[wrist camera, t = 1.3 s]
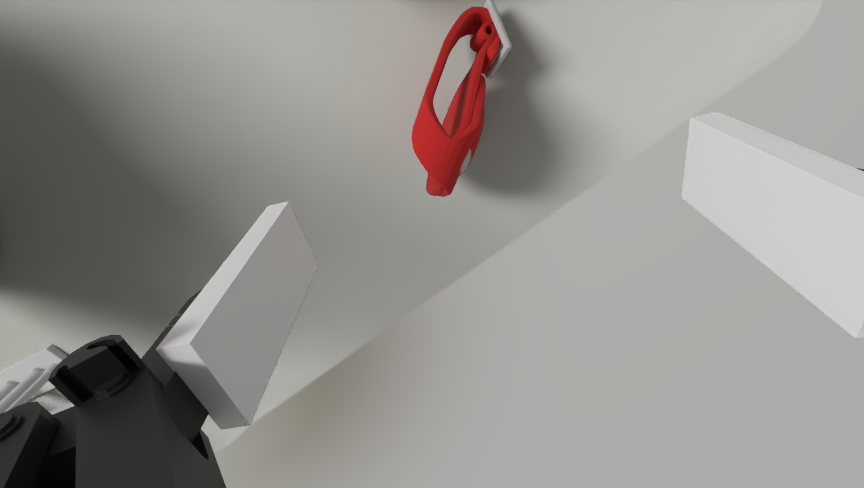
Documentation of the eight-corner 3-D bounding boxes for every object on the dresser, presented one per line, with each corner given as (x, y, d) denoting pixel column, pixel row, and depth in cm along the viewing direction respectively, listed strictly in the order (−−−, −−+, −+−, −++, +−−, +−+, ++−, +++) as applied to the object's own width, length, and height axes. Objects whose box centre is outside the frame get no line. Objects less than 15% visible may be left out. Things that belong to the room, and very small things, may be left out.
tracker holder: (449, 174, 32) (456, 237, 24) (396, 156, 32) (385, 215, 23) (516, 10, 26) (558, 18, 18) (453, -17, 26) (466, -23, 17)
